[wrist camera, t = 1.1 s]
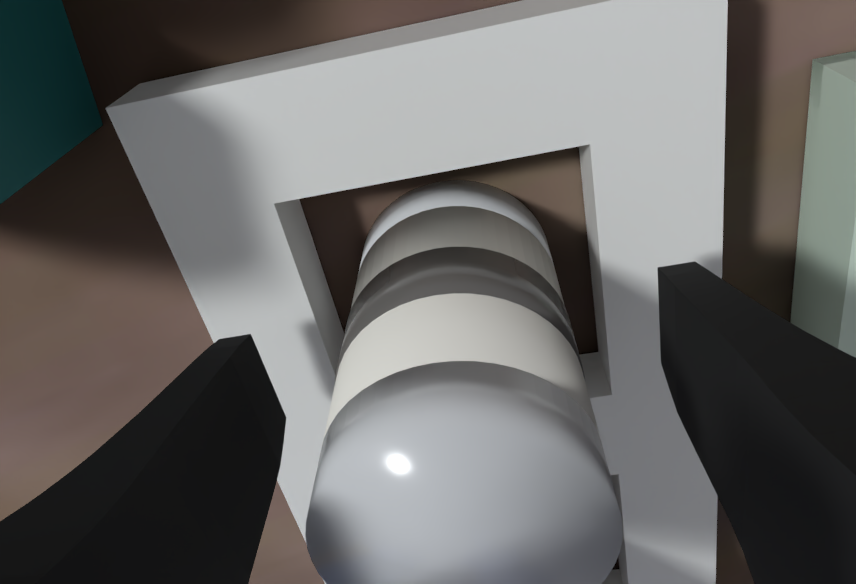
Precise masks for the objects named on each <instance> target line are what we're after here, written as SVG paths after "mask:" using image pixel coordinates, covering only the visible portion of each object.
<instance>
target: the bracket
mask: <svg viewBox="0 0 856 584" xmlns="http://www.w3.org/2000/svg"><path fill="white" fill-rule="evenodd" d="M102 125H103V123H102V120H101V117H100V114H99V111H98V108H97V105H96V102H95V99H94V96H93V93H92V90H91V87H90V84H89V81H88V78H87V75H86V72H85V69H84V66H83V63H82V60H81V57H80V54H79V51H78V48H77V45H76V42H75V39H74V36H73V33H72V30H71V27H70V24H69V21H68V18H67V15H66V12H65V9H64V6H63V3H62V0H0V204H1V203H2V202H4V201H5V200H6V199H8V198H9V197H10V196H12V195H13V194H14V193H15V192H17V191H18V190H19V189H21V188H22V187H23V186H25V185H26V184H27V183H28V182H30V181H31V180H32V179H34V178H35V177H36V176H38V175H39V174H40V173H41V172H43V171H44V170H45V169H47V168H48V167H49V166H50V165H52V164H53V163H54V162H56V161H57V160H58V159H60V158H61V157H62V156H63V155H65V154H66V153H67V152H69V151H70V150H71V149H73V148H74V147H75V146H76V145H78V144H79V143H80V142H82V141H83V140H84V139H85V138H87V137H88V136H89V135H91V134H92V133H93V132H95V131H96V130H97V129H98V128H100V127H101V126H102Z"/></svg>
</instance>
